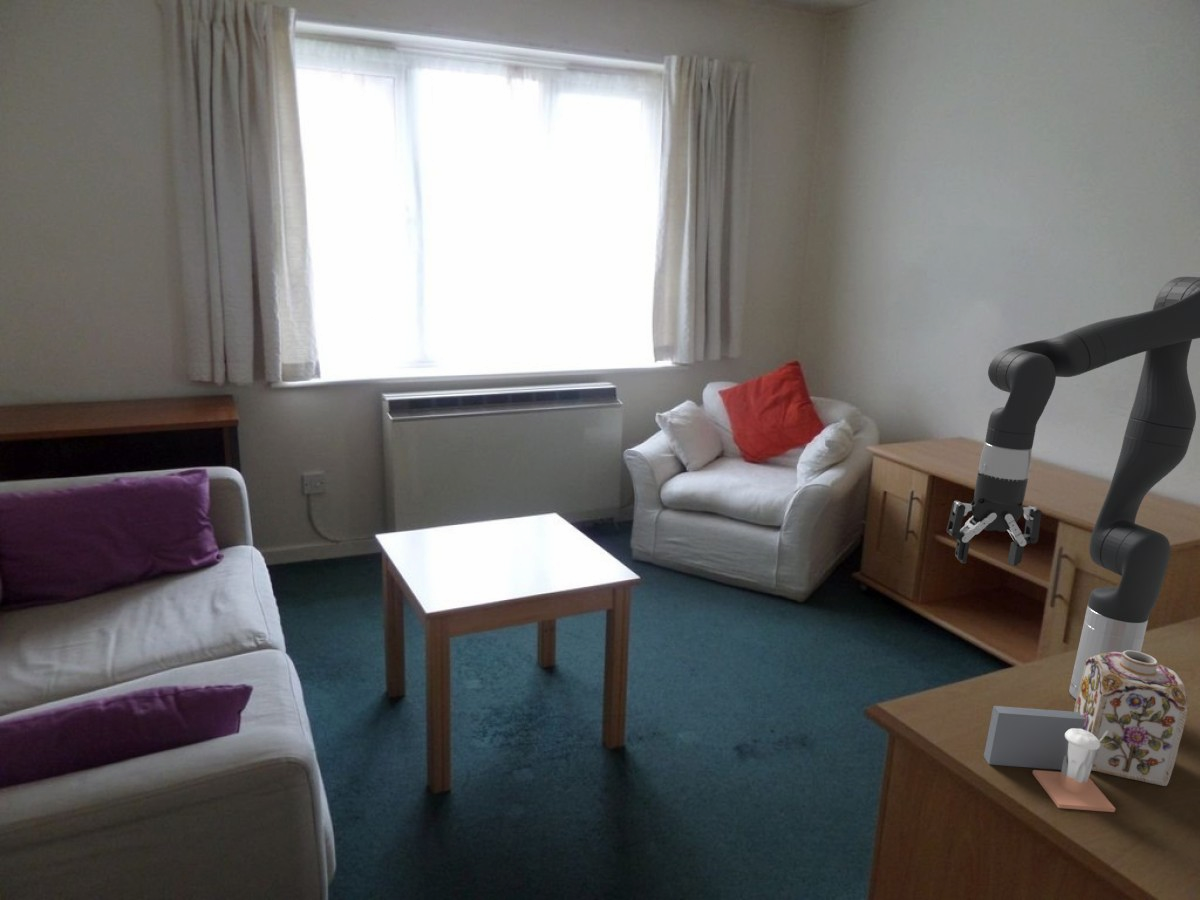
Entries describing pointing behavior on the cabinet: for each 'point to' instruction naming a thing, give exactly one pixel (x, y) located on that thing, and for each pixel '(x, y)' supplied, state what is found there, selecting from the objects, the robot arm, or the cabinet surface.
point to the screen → (1029, 736)
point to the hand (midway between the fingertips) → (986, 563)
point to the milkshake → (1078, 759)
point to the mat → (1068, 800)
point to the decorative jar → (1133, 714)
